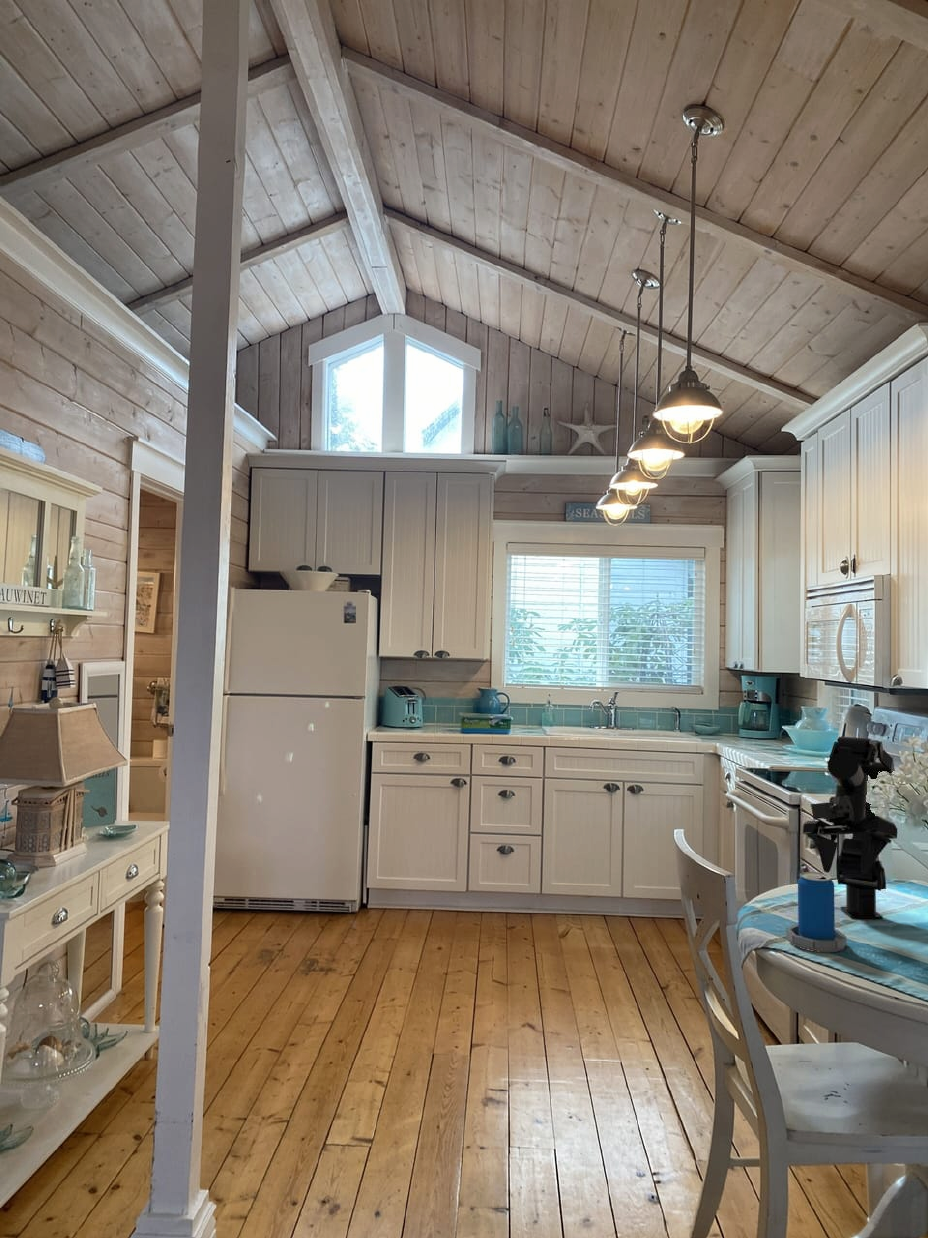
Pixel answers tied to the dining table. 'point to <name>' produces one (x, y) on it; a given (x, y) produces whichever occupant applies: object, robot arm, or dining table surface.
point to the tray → (816, 941)
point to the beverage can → (816, 906)
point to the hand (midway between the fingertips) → (844, 872)
